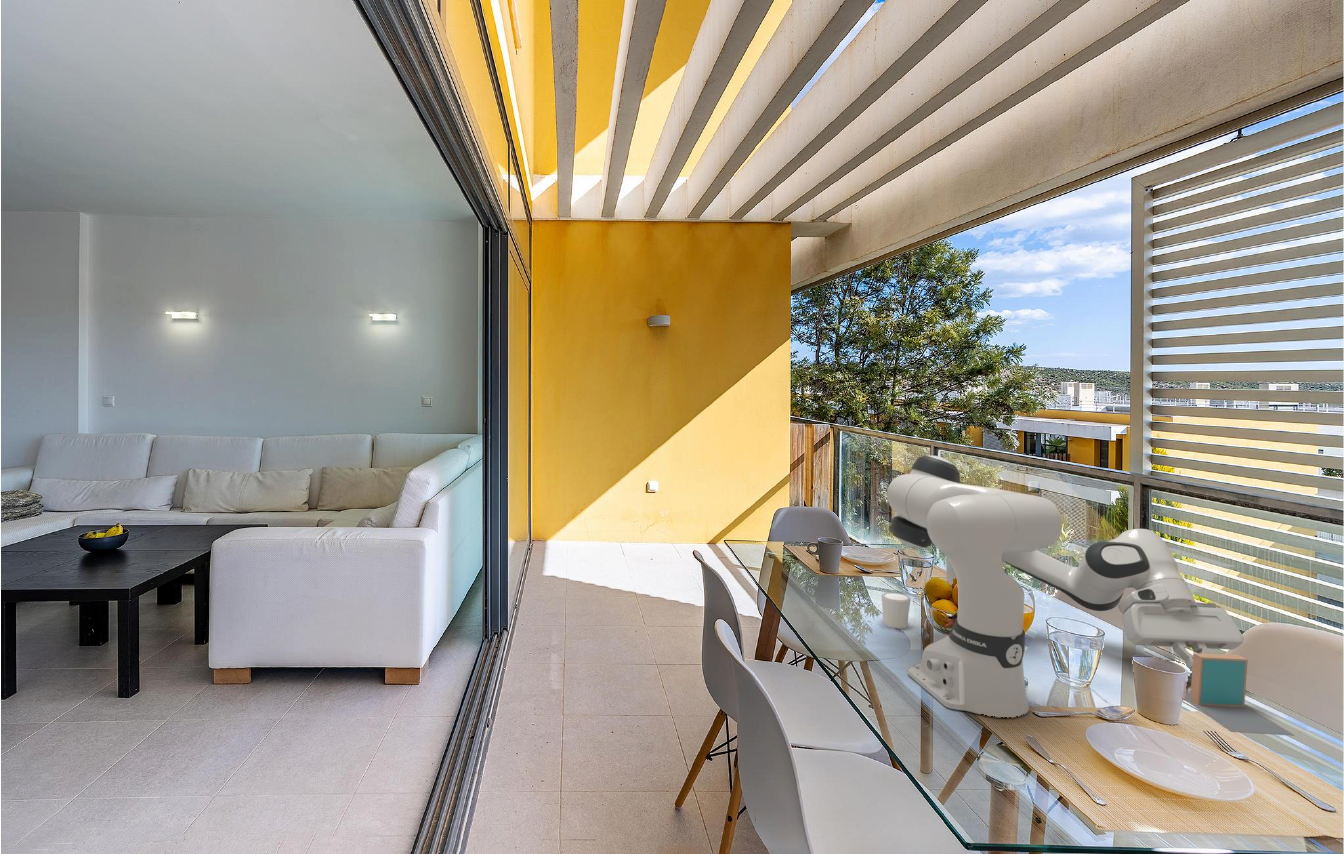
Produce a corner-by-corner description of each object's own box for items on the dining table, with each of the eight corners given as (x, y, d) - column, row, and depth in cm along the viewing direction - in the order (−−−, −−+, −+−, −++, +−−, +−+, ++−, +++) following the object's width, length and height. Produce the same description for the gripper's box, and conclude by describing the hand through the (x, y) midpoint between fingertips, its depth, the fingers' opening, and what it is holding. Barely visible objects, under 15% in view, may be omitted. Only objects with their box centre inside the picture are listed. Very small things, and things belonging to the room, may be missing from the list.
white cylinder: (906, 631, 157) (907, 602, 156) (877, 625, 161) (878, 597, 160) (912, 622, 163) (913, 595, 162) (884, 617, 166) (885, 590, 166)
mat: (1173, 695, 125) (1173, 691, 125) (1228, 698, 125) (1228, 694, 125) (1230, 735, 111) (1231, 731, 111) (1294, 739, 110) (1294, 734, 110)
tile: (1190, 699, 122) (1193, 652, 122) (1235, 702, 122) (1239, 654, 121) (1198, 705, 120) (1201, 657, 120) (1244, 707, 120) (1248, 659, 119)
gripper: (1212, 610, 136) (1246, 676, 127) (1109, 606, 138) (1135, 671, 129) (1230, 596, 132) (1266, 663, 123) (1123, 592, 133) (1151, 658, 124)
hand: (1198, 667), depth 126 cm, fingers closed
